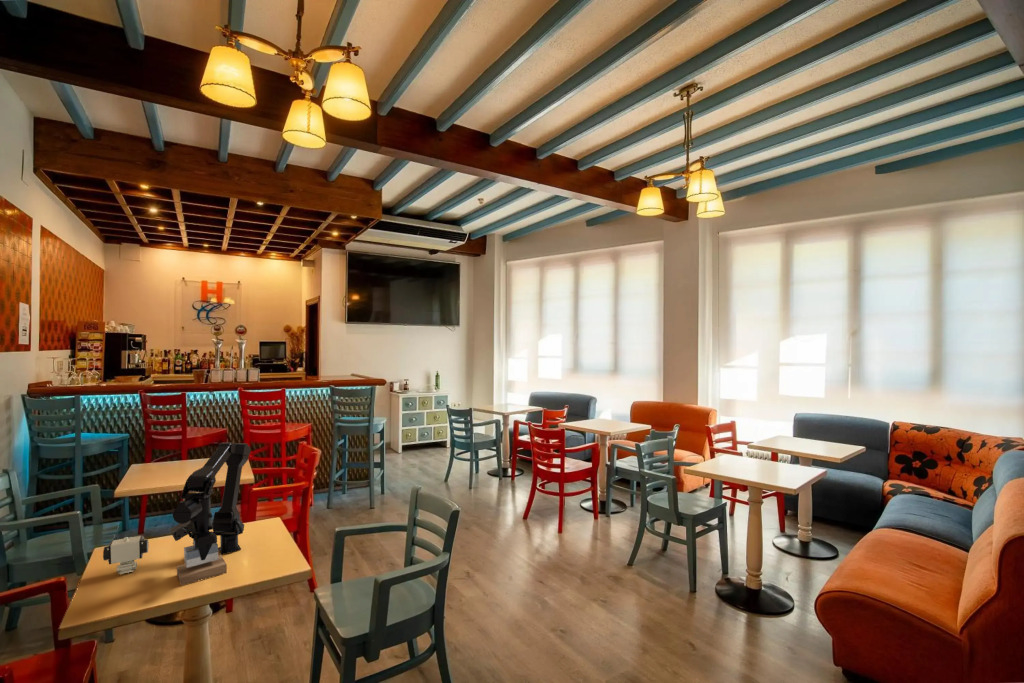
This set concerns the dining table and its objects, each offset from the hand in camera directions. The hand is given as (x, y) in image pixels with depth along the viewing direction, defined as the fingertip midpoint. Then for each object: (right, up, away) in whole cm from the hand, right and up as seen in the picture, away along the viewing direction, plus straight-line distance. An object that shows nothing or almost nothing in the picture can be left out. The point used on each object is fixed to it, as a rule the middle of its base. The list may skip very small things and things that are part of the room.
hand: (201, 557), depth 168 cm
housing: (0, -1, 0) cm, 1 cm away
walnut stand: (0, -6, 0) cm, 6 cm away
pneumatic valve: (-26, -6, +1) cm, 27 cm away
